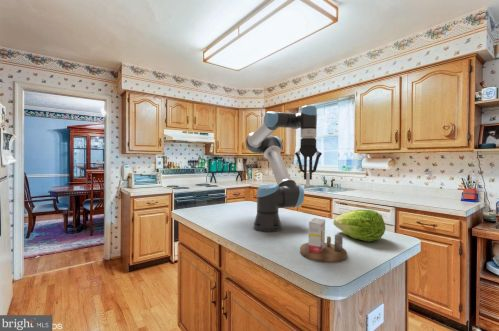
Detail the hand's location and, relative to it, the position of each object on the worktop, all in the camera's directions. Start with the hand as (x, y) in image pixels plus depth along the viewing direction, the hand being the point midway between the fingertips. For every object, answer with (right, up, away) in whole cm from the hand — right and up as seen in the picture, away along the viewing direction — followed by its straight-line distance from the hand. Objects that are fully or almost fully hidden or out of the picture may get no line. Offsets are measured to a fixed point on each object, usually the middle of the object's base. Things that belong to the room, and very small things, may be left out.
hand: (307, 186), depth 124 cm
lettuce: (+24, -25, -1) cm, 34 cm away
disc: (+1, -25, -22) cm, 34 cm away
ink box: (-2, -24, -22) cm, 33 cm away
